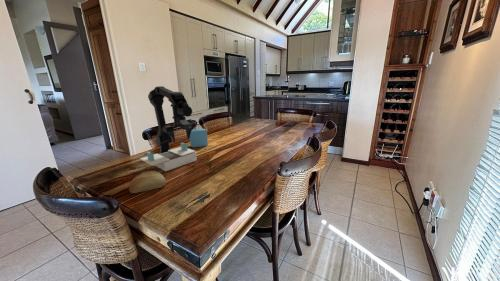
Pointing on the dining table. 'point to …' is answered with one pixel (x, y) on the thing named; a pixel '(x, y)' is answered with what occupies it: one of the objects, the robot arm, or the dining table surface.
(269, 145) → the dining table surface
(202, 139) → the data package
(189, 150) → the far flap
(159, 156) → the near flap
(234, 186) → the dining table surface
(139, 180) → the bread roll
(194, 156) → the carton
